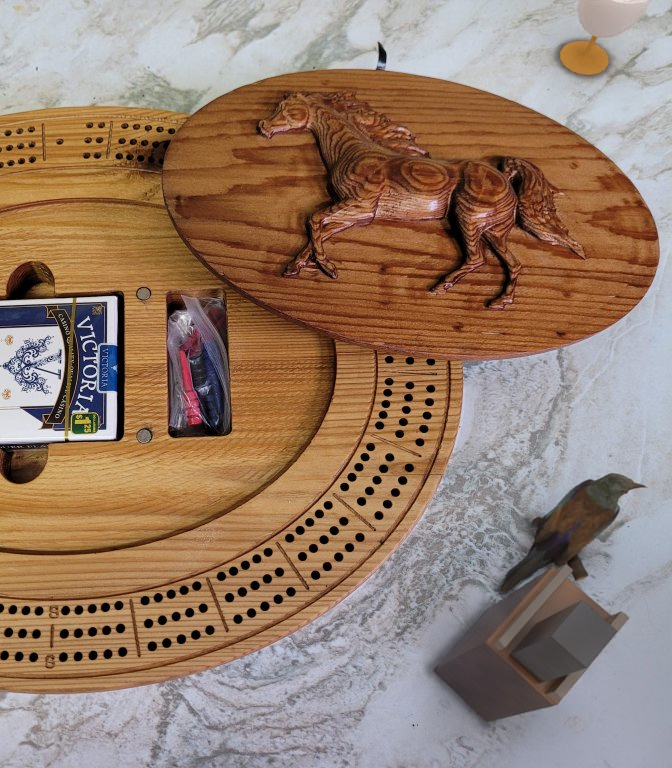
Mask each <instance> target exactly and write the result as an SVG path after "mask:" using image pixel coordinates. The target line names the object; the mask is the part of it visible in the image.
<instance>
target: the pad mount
mask: <svg viewBox="0 0 672 768" xmlns="http://www.w3.org/2000/svg"><path fill="white" fill-rule="evenodd" d="M548 569H549V570H548ZM548 569H547V570H548V571H547V570H546V571H547V572H546V573H545V575H544V576H543V577H542V578H541V579H540V580H539V581H538V582H537V584H536V585H535V586H534V587H533V588H532V589H531V590H530V591H529V593H528V594H527V595H526V596H525V597H524V598H523V599H522V600H521V602H520V603H519V604H518V605H517V606H516V607H515V608H514V609H513V611H512V612H511V613H510V614H509V615H508V616H507V617H506V618H505V620H504V621H503V622H502V623H501V624H500V625H499V626H498V627H497V629H496V630H495V631H494V632H493V633H492V634H491V635H490V637H489V638H488V639H487V640H486V641H485V643H486V644H487V645H488V646H489V647H490V648H491V649H492V650H493V651H495V652H496V653H497V654H498V655H499V656H500V657H501V658H502V659H503V660H504V661H505V662H506V663H507V664H509V665H510V666H511V667H512V668H513V669H514V670H515V671H516V672H517V673H518V674H519V675H520V676H522V677H523V678H524V679H525V680H526V681H527V682H528V683H529V684H530V685H531V686H532V687H533V688H535V689H536V690H537V691H538V692H539V693H540V694H541V695H542V696H543V697H544V698H545V699H546V700H548V701H549V702H550V703H551V704H552V705H553V706H552V707H555V706H558V705H559V704H560V702H561V701H562V700H563V699H564V698H565V697H566V695H567V694H568V693H569V692H570V691H571V689H572V688H574V685H575V684H576V683H577V682H578V681H579V680H580V679H581V677H582V676H583V675H584V673H585V672H586V671H587V670H588V669H589V668H590V666H591V665H592V664H593V663H594V662H595V660H596V659H597V658H598V657H599V656H600V654H602V652H603V651H604V649H605V648H606V647H607V646H608V645H609V643H610V642H611V641H612V640H613V639H614V637H615V636H616V635H617V634H618V633H619V632H620V630H621V629H622V628H623V626H625V624H626V623H627V622H628V621H629V619H630V617H629V616H628V615H627V614H626V613H625V612H624V611H622V610H621V611H619V612H616V613H613V614H610V613H609V612H608V611H607V610H606V609H604V608H603V607H602V606H601V605H600V604H599V603H598V602H597V601H595V600H594V599H593V598H592V597H591V596H589V595H588V594H587V593H586V592H584V590H582V589H581V588H580V587H579V586H577V585H576V584H575V583H574V582H573V581H571V580H570V578H568V577H569V576H570V575H572V571H573V569H571V568H570V567H569V566H568V565H567V563H565V564H564V565H561V566H559V568H556V566H555V565H553V566H551V567H550V568H548Z"/></svg>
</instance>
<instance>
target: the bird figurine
mask: <svg viewBox="0 0 672 768" xmlns="http://www.w3.org/2000/svg"><path fill="white" fill-rule="evenodd" d="M641 488H642V489H643V488H645V489H648V487H647V486H646V485H645V484H641V483H638V482H635V481H634V480H633V479H631V478H629V477H628V476H626V475H624V474H620V473H615V472H610V473H607V474H606V475H604V476H601V477H600V478H598V479H591V478H588V479H585V480H583V481H582V482H580V483H579V484H577V485H575V486H574V487H572V488H571V489H570V490H568V492H567V493H566V494H565V495H564V496H563V497H562V498H561V499H560V501H559V502H558V503H557V504H556V506H554V507H553V508H552V509H551V510H550V511H549V512H547V513H546V514H545V515H544V516H543V517H541V516H536V517H534V518H533V519H532V521H531V523H532V524H533V525H534V526H535V527H536V530H535V535H534V540H533V542H532V545H531V546H530V549H529V550H528V553H527V555H526V556H524V557H523V558H522V560H520V561H518V562H517V563H516V564H515V565H514V566H512V567H511V568H510V569H509V570H508V571H507V572H506V574H505V576H504V578H503V579H502V581H501V582H500V583H499V584H498V588H499V589H500V591H501V592H503V593H504V594H506V593H507V592H510V591H511V590H512V589H515V588H516V587H518V586H520V585H521V584H523V583H524V582H525V581H527V580H529V579H530V578H532V577H533V576H534V574H536V573H538V571H539V570H542V569H543V568H546V567H547V566H550V565H552V564H554V565H553V566H555V567H562V566H563V565H565V564H567V565H568V566H569V567H570V568H571V569H573V571H572V573H571V575H572V577H573V579H574V582H580V581H582V580H584V579H586V578H588V577H589V573H588V571H587V570H586V568H585V566H584V564H583V561H582V560H581V558H580V556H579V553H580V552H581V551H582V550H583V549H584V548H585V547H586V546H587V545H589V544H590V543H592V542H594V541H595V539H596V538H597V537H598V536H600V535H601V534H602V533H603V532H604V531H605V530H606V529H607V528H609V527H610V526H611V525H612V524H613V522H615V520H616V519H617V517H618V515H619V514H620V511H621V507H620V505H619V504H618V503H619V500H620V498H621V497H622V496H624V495H627V494H628V493H629V492H630V491H632V490H634V489H641Z"/></svg>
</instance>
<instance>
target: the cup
mask: <svg viewBox="0 0 672 768" xmlns="http://www.w3.org/2000/svg"><path fill="white" fill-rule="evenodd" d="M652 1H653V0H578V8H577V15H578V16H577V17H578V21H579V23H580V25H581V27H582V28H583V30H584V31H586V33H588V34H589V35H591V38H590V40H589V41H585V40H577V41H571V42H569V43H567V44H565V45H564V46H563V47H562V49H561V50H560V51H559V60H560V61H561V63H562V65H563V66H564V67H565V68H566V69H567V70H569V71H571V72H573V73H575V74H578V75H584V76H593V75H598V74H600V73H602V72H603V71H605V70H606V68H607V67H608V65H609V55H608V54H607V52H606V50H604V49H603V48H602V47H601V46H600V45H598V44H595V43H596V42H597V40H598V39H599V38H603V39H607V38H613V37H617V36H619V35H621V34H623V33H625V32H626V31H628V30H630V29H632V27H634V25H636V23H637V22H638V21H639V20H640V19H641V17H642V16H643V14H645V12H646V10H647V9H648V7H649V6H650V5H651V3H652Z"/></svg>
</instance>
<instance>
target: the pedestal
mask: <svg viewBox="0 0 672 768" xmlns="http://www.w3.org/2000/svg"><path fill="white" fill-rule="evenodd" d="M549 569H550V568H548V569H546V570H545V571H544V572H542V573H540V574H539V575H537V576H536V577H534V578H533V579H531V580H530V581H528V582H527V583H525V584H524V585H522V586H521V587H519V588H518V589H517V588H516V590H514V591H513V592H511V593H509V594H508V595H506V596H505V597H503V598H502V599H500V600H498V601H497V602H496V603H494V604H493V605H491V606H489V607H488V608H487V609H486V610H485V611H483V613H482V614H481V616H480V617H478V619H477V620H476V621H475V622H474V623H473V624H472V626H471V627H469V629H468V630H467V631H466V632H465V633H464V634H463V635H462V637H461V638H460V639H459V640H458V641H457V642H456V643H455V644H454V646H452V648H451V649H450V650H448V652H447V654H445V655H444V657H443V658H442V659H441V660H440V661H439V662H438V663H437V664H436V666H435V667H434V668H433V669H432V671H433V672H434V673H435V674H436V675H437V676H438V677H439V678H440V679H441V680H442V681H443V682H444V683H446V684H447V685H448V686H449V688H451V689H452V690H453V691H454V693H456V694H457V695H458V696H459V697H460V698H461V699H462V700H463V701H465V703H466V704H467V705H468V706H469V707H470V708H471V709H472V710H473V711H475V713H476V714H478V715H479V716H480V717H481V718H482V719H483V720H484V722H486V723H489V722H490V723H491V722H494V721H498V720H503V719H507V718H511V717H515V716H519V715H522V714H526V713H531V712H534V711H538V710H543V709H547V708H550V707H554V706H553V705H552V704H551V703H550V702H549V701H548V700H546V699H545V698H544V697H543V696H542V695H541V694H540V693H539V692H538V691H537V690H536V689H535V688H533V687H532V686H531V685H530V684H529V683H528V682H527V681H526V680H525V679H524V678H523V677H522V676H520V675H519V674H518V673H517V672H516V671H515V670H514V669H513V668H512V667H511V666H510V665H509V664H507V663H506V662H505V661H504V660H503V659H502V658H501V657H500V656H499V655H498V654H497V653H496V652H495V651H493V650H492V649H491V648H490V647H489V646H488V645H487V644H486V643H485V641H486V640H487V639H488V638H489V637H490V635H491V634H492V633H493V632H494V631H495V630H496V629H497V627H498V626H499V625H500V624H501V623H502V622H503V621H504V620H505V618H506V617H507V616H508V615H509V614H510V613H511V612H512V611H513V609H514V608H515V607H516V606H517V605H518V604H519V603H520V602H521V600H522V599H523V598H524V597H525V596H526V595H527V594H528V593H529V591H530V590H531V589H532V588H533V587H534V586H535V585H536V584H537V582H538V581H539V580H540V579H541V578H542V577H543V576H544V575H545V573H546V572H547V571H548V570H549Z"/></svg>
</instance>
